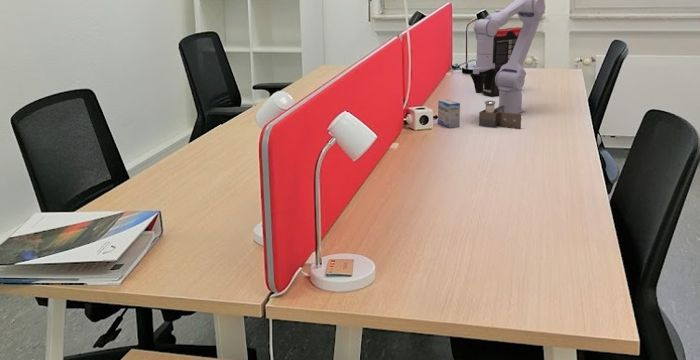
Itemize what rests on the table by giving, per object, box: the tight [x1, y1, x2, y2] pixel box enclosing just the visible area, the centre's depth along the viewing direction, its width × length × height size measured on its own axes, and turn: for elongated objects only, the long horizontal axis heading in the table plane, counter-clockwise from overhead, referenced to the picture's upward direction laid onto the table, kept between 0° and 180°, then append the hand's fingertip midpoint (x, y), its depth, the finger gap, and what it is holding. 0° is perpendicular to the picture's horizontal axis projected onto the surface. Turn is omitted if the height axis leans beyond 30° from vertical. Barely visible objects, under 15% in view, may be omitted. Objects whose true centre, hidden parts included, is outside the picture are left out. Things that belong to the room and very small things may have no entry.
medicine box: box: [437, 99, 461, 129], centre depth 271 cm, size 8×4×9 cm, turn 25°
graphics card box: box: [481, 26, 522, 97], centre depth 321 cm, size 17×7×27 cm, turn 124°
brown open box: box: [478, 108, 522, 130], centre depth 268 cm, size 6×14×5 cm, turn 56°
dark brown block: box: [478, 105, 504, 129], centre depth 273 cm, size 14×6×5 cm, turn 146°
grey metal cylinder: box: [484, 100, 496, 113], centre depth 270 cm, size 4×4×8 cm
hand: (483, 91), depth 276 cm, fingers open, 7 cm apart
